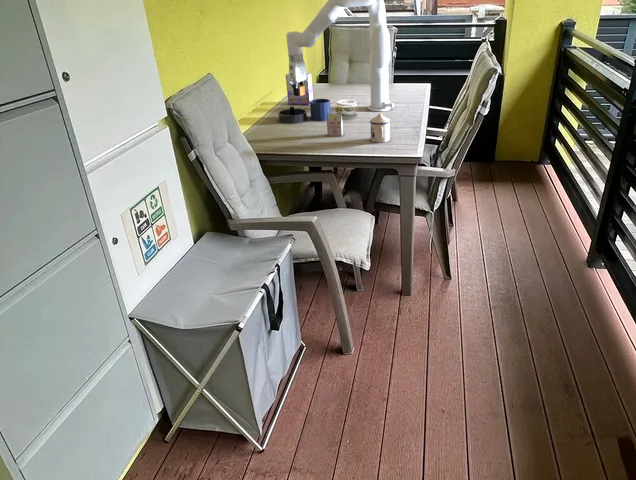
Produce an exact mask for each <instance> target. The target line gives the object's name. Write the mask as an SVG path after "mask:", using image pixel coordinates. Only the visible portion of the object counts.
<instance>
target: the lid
mask: <svg viewBox="0 0 636 480" xmlns="http://www.w3.org/2000/svg"><path fill="white" fill-rule="evenodd" d="M289 109H290V114H289V115H299V114H295V110H294V109H295V105H293V106H292V105H291V106H289Z"/></svg>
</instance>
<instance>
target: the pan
mask: <svg viewBox="0 0 636 480" xmlns="http://www.w3.org/2000/svg"><path fill="white" fill-rule="evenodd" d="M294 110H295V114H299V115H289V114H290V108H287V109H282V110H279V111H278V112H277V114H278V115H277V116H278V122H279V123H283V124H300V123H304V122H306V121H308V114H307V113H308V112H307V110H306V109H303V108H294Z"/></svg>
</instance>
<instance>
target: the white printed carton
mask: <svg viewBox="0 0 636 480" xmlns="http://www.w3.org/2000/svg"><path fill="white" fill-rule="evenodd" d="M343 125H344V124H343V115H342V113H331V114H327V120H326V128H327V137H343V134H344V128H343V127H344V126H343Z"/></svg>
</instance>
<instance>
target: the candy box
mask: <svg viewBox="0 0 636 480" xmlns="http://www.w3.org/2000/svg"><path fill="white" fill-rule="evenodd" d="M289 81H290V78H289V72H288V73H285V83H286V84H285V85H286V92H287V93H286V94H287V103H288V105H294V106H295V105H296V106H297V105H298V106H310V101H311V100H314V93H313V81H312V73H308V72H307V79H306V81H305V95H302V96H294V92H293V88H292V86H291V85H290V84H289ZM294 82H296V81H294ZM295 85H296V83H295ZM298 85H300V84H299V82H298Z"/></svg>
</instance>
